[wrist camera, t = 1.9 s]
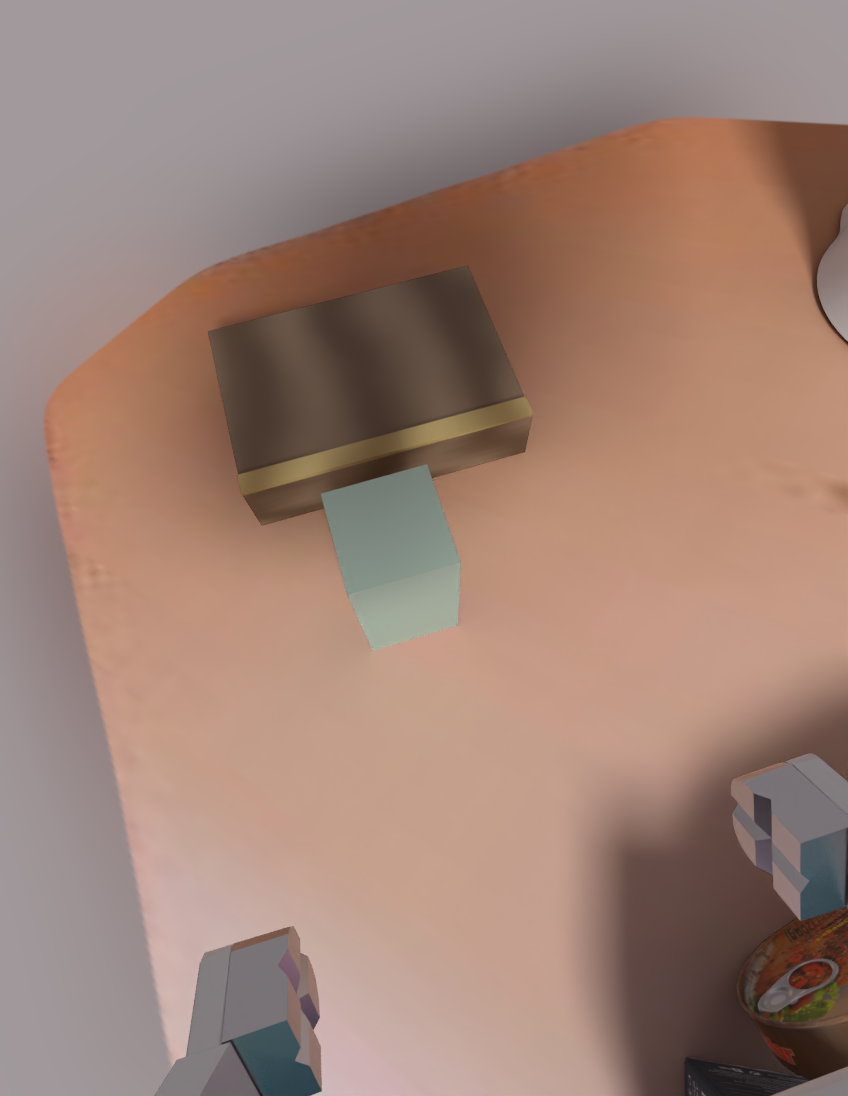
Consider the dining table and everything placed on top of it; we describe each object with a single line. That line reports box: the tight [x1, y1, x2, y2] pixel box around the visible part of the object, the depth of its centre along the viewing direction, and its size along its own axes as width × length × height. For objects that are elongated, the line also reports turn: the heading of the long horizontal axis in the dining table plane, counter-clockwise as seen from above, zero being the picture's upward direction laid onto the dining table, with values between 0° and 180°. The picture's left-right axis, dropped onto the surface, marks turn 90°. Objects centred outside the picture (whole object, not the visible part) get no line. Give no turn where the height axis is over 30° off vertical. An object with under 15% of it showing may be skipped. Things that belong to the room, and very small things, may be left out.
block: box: [321, 464, 461, 651], centre depth 33 cm, size 5×5×10 cm
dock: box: [208, 266, 533, 525], centre depth 41 cm, size 17×12×4 cm
